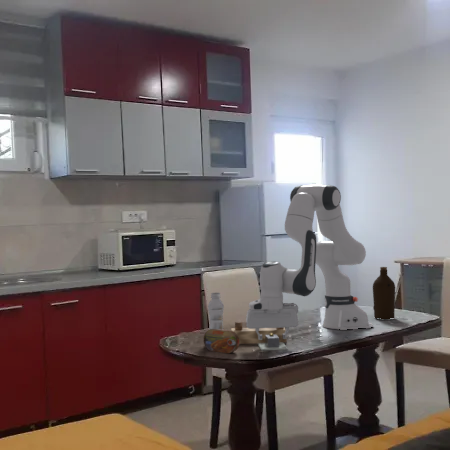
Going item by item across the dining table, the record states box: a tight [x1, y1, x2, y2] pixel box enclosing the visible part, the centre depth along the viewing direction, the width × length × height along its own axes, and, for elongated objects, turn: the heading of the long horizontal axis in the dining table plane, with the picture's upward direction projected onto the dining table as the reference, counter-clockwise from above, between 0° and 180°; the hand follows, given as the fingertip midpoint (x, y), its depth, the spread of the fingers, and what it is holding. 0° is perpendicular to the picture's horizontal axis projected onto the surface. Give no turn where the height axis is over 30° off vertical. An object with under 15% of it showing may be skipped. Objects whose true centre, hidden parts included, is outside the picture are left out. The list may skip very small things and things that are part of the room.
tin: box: [203, 329, 240, 354], centre depth 220 cm, size 15×3×8 cm, turn 56°
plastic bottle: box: [207, 292, 225, 330], centre depth 236 cm, size 6×7×20 cm
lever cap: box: [265, 333, 279, 348], centre depth 226 cm, size 7×4×4 cm, turn 4°
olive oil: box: [372, 266, 396, 319], centre depth 282 cm, size 11×11×25 cm
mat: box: [257, 342, 288, 351], centre depth 226 cm, size 10×10×1 cm
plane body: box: [230, 321, 288, 345], centre depth 236 cm, size 22×7×10 cm, turn 94°
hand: (272, 339), depth 226 cm, fingers open, 8 cm apart
